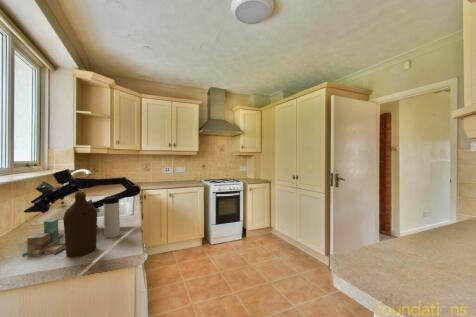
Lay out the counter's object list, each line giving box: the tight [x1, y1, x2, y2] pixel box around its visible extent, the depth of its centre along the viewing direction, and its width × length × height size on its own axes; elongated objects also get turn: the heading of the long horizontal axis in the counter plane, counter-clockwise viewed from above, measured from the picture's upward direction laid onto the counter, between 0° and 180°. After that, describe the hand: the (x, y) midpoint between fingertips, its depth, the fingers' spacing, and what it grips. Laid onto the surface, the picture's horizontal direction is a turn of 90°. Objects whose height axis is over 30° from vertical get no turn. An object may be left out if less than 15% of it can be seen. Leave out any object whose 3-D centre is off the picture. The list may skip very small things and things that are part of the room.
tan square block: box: [56, 240, 65, 247], centre depth 86 cm, size 4×4×2 cm
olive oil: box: [62, 190, 98, 259], centre depth 80 cm, size 11×11×25 cm
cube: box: [26, 232, 51, 252], centre depth 81 cm, size 5×5×5 cm
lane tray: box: [21, 234, 66, 257], centre depth 87 cm, size 12×19×2 cm, turn 4°
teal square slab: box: [28, 218, 60, 254], centre depth 83 cm, size 4×10×10 cm, turn 4°
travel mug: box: [103, 193, 121, 239], centre depth 97 cm, size 6×7×20 cm
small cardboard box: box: [45, 245, 63, 254], centre depth 81 cm, size 4×4×2 cm
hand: (27, 207), depth 100 cm, fingers open, 9 cm apart
